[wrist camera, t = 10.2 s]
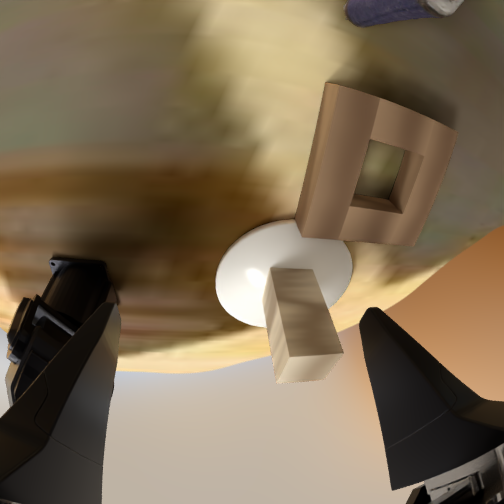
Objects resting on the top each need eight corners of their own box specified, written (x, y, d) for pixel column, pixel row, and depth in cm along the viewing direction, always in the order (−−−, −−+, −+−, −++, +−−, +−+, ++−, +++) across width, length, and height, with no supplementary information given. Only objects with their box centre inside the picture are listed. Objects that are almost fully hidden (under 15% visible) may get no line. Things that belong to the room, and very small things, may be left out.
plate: (212, 321, 29) (212, 327, 28) (221, 213, 21) (221, 218, 21) (326, 320, 31) (327, 325, 31) (368, 226, 24) (371, 231, 23)
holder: (294, 220, 22) (301, 237, 20) (325, 82, 16) (339, 85, 14) (401, 231, 24) (413, 246, 22) (439, 123, 18) (458, 132, 16)
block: (261, 299, 27) (276, 383, 19) (269, 267, 24) (289, 357, 17) (301, 299, 27) (324, 379, 20) (312, 269, 25) (343, 353, 18)
